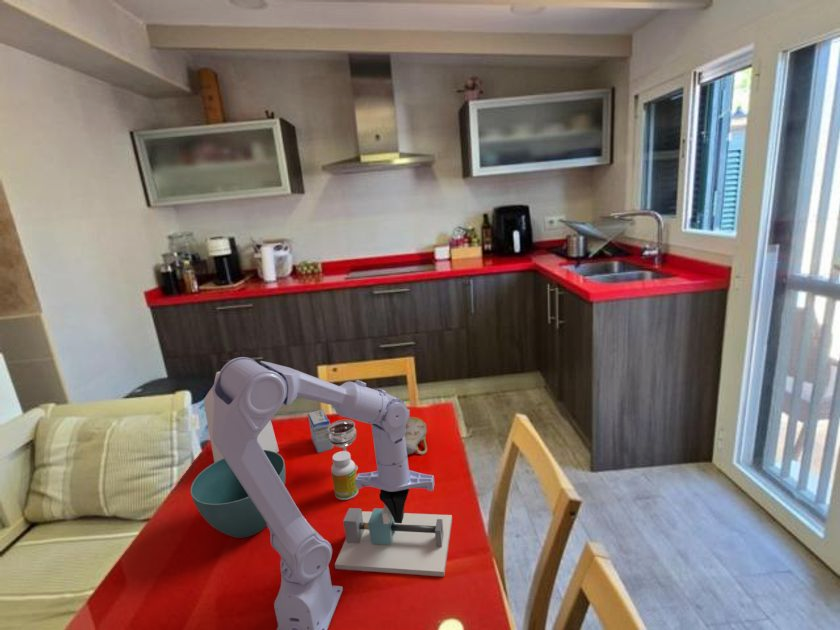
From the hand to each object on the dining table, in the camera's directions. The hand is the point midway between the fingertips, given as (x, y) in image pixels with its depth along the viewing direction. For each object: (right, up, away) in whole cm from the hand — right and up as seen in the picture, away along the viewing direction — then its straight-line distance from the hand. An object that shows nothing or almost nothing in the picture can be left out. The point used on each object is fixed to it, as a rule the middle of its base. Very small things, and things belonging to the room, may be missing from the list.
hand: (399, 519), depth 83 cm
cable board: (-1, -5, +2) cm, 5 cm away
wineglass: (-14, 0, +27) cm, 30 cm away
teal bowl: (-32, -6, +11) cm, 35 cm away
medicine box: (-23, +2, +39) cm, 46 cm away
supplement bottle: (-13, -2, +18) cm, 22 cm away
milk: (-43, 0, +36) cm, 56 cm away
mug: (+2, +3, +34) cm, 34 cm away
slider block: (-3, -4, +2) cm, 5 cm away
